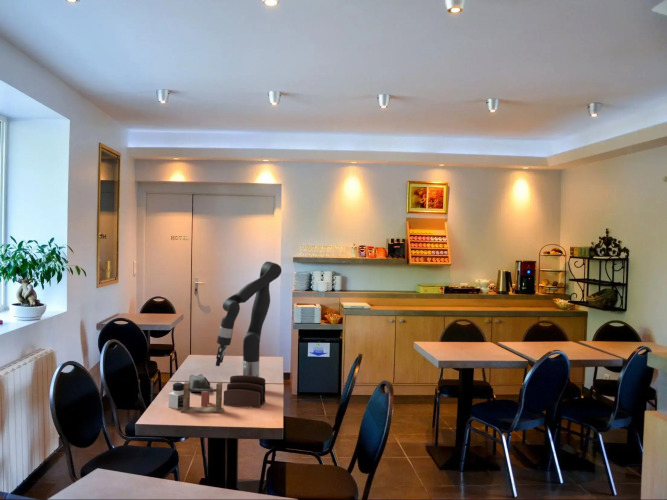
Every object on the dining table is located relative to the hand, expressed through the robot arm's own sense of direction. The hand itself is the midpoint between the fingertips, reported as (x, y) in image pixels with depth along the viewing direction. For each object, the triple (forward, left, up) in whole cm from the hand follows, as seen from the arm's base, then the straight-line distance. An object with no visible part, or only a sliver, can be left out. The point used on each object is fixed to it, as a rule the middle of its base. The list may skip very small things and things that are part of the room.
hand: (218, 364), depth 284 cm
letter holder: (-16, +14, -18) cm, 28 cm away
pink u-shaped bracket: (+4, +16, -17) cm, 24 cm away
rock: (+13, -12, -18) cm, 25 cm away
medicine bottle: (+16, +20, -18) cm, 32 cm away
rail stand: (+3, +27, -17) cm, 32 cm away
